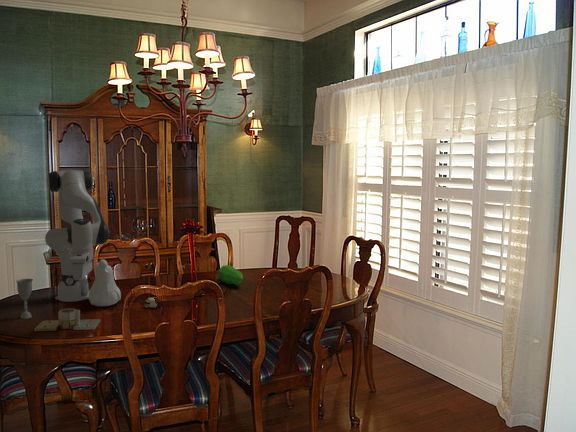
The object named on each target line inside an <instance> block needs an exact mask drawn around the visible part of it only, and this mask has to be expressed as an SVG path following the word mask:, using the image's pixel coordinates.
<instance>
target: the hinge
mask: <svg viewBox="0 0 576 432" xmlns="http://www.w3.org/2000/svg"><path fill="white" fill-rule="evenodd" d="M57 314H58V320H57V319H53V320H52V319H50V320H43V321H41V322H40V323H39V324H38V325H36V327H35V328H34V329H33V330H34V332H51V331H52V332H53V331H54V332H55V331H57V330H59V329H61V330H69V329H72V331H87V330H89V331H91V330H92V331H94V330H95V329H96V328H97V327H98V325H99V324H100V323H101V319H100V318H98V319H96V318H95V319H94V318H93V319H81V310H80V309H76V308H73V307H71V308H70V307H69V308H64V309H60V310H59V311H58V312H57Z"/></svg>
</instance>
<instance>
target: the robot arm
mask: <svg viewBox="0 0 576 432" xmlns="http://www.w3.org/2000/svg"><path fill="white" fill-rule="evenodd" d="M46 185H47V187H48V189H49V190H50V191H51V192H55V193H58V215H59V217H60V219H61V220H62V221H63V222H66V223H68V224H70V226H68V227H57V228H53V229H52V228H51V229H48V231H47V232H46V234H45V237H44V241H45V244H46V246H47V247H49V248H50V249H52V250H53V251H54V252H55V253H56V254H57V255H58V257H59V258H58V259H59V261H60V268H61V270H60V271H61V274H60V282H59V283H58V284H57V296H55V297H54V298H55V300H58V301H60V302H64V303H65V302H66V303H67V302H68V303H71V302H72V303H73V302H79V301H84V300H89V290H90V288H88V295H87V296H81V290H80V286H81V287H84V286H85V282H84V277H85V276H86V275H87V280H88V278H89V273H91V271H92V270H93V260H94V245H103V244H105V243H106V242H107V241H109V240H110V229H109V228H108V225H107V223H106V221H105V220H104V216H103V215H102V212H101V209H100V207H99V204H98V202H97V200H96V199H95V197H93V196H92V195H90V194H89V192H88V191H90V190H91V189H92V188H93V185H94V177H93V173H92V172H91V171H88V170H78V169H77V170H75V169H74V170H73V169H70V170H59V171H56V170H55V171H51V172H49V173H48V175H47V177H46ZM83 211H84V212H87V213H89V214H90V216H91V218H92V221H93V223H91V220H90V219H87V218H84V217H83ZM87 286H88V287H89V282H88V281H87Z"/></svg>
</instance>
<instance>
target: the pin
mask: <svg viewBox="0 0 576 432" xmlns="http://www.w3.org/2000/svg"><path fill="white" fill-rule="evenodd" d="M84 282H85V286H84V287H81V286H80V290H81V296H87V295H88V289H89V285H88V286H87V282H88V279H87V275H86V276H85V277H84Z"/></svg>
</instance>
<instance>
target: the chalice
mask: <svg viewBox="0 0 576 432" xmlns="http://www.w3.org/2000/svg"><path fill="white" fill-rule="evenodd" d="M33 280H34V279H32V278H21V279H17V280H15V283H16V287H17V288H16V290H17V293H18V295H19V297H20V298H21V300H23V305H24V306H23V309H24V311H23V312H22V313H21V315H20V319H26V320H27V319H30V318H32V317H33V315H32V313H31V312H30V311H28V302H27V300H29V298H30V296H31V294H32V291H33Z"/></svg>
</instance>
